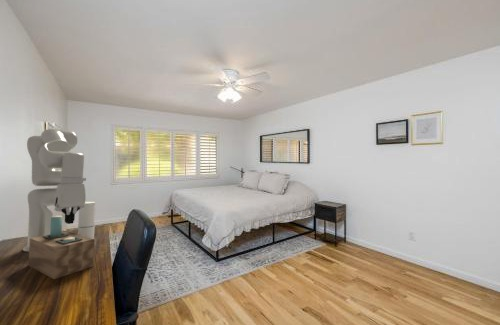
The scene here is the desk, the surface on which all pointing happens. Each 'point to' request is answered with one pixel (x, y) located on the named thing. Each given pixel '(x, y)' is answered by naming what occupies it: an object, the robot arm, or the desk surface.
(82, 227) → the cylindrical container
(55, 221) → the peg
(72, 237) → the peg
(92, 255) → the walnut block
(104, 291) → the desk surface
